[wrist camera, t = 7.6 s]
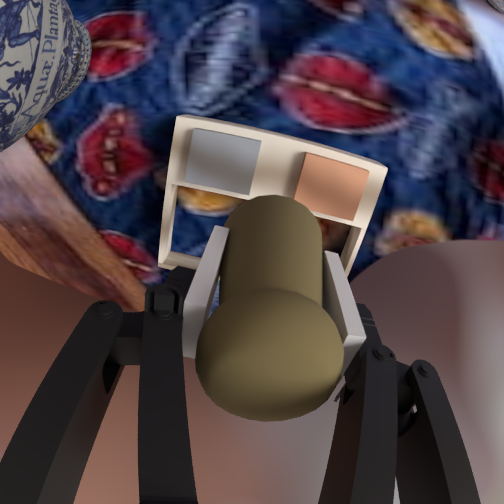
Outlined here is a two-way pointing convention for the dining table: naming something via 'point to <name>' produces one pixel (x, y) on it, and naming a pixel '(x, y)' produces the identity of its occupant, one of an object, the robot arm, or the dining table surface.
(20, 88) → the decorative vase
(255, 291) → the cork
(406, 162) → the dining table surface
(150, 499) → the robot arm
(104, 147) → the dining table surface
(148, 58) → the dining table surface
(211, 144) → the socket board
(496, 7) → the travel mug
